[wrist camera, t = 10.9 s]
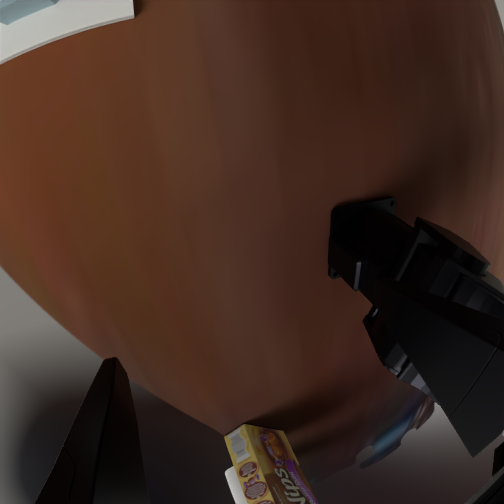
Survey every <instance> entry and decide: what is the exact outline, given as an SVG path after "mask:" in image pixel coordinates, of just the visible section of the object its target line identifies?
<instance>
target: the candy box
mask: <svg viewBox="0 0 504 504" xmlns="http://www.w3.org/2000/svg"><path fill="white" fill-rule="evenodd" d="M224 438H225V441H226V444H227V447H228V450H229V453H230V456H231V459H232V462H233V465H234V468H235V471H236V473H237V476H238V479H239V482H240V485H241V487H242V490H243V493H244V496H245V498H246V501H247V504H318V502H317V500H316V498H315V496H314V494H313V492H312V490H311V488H310V486H309V484H308V482H307V480H306V478H305V476H304V474H303V471H302V469H301V467H300V465H299V463H298V461H297V459H296V457H295V455H294V453H293V451H292V449H291V446H290V444H289V442H288V440H287V438H286V436H285V434H284V431H281V430H275V429H269V428H264V427H258V426H253V425H247V424H243V425H241V426H240V427H238V428H237V429H235V430H234V431H232V432H230V433H229V434H228V435H226V436H224Z"/></svg>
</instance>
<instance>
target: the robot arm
mask: <svg viewBox="0 0 504 504" xmlns="http://www.w3.org/2000/svg"><path fill="white" fill-rule="evenodd" d="M390 202H391V203H390ZM395 210H396V199H395V198H394V197H392V196H388V197H383V198H378V199H374V200H369V201H364V202H359V203H354V204H350V205H345V206H340V207H336V208H334V209H333V210H332V212H331V227H330V237H329V249H328V264H329V268H328V275H329V276H330V277H331V278H332V279H336V278H339V277H342V278H343V280H344V281H345V282H346V283H347V284H348V285H349V286H350V287H351V288H352V289H353V290H355V291H360V292H361V293H362V294H363V295H364V296H365V297H366V298H367V299H368V300H369V301H370V302H371V303H372V304H373V306H372V308H371V310H370V311H369V313H368V315H366V316H365V318H364V319H363V324H364V326H365V328H366V330H367V332H368V335H369V337H370V339H371V341H372V344H373V346H374V348H375V350H376V353H377V355H378V357H379V359H380V361H381V362H382V364H383V366H384V367H386V368H387V369H388V370H390V371H391V372H392V373H394V374H395V375H397V378H398V379H399V380H402V381H404V382H407V383H409V384H411V385H413V386H415V387H416V388H418V389H420V390H421V391H423V392H424V393H425V394H426V395H428V396H429V397H430V398H431V399H432V400H434V401H435V402H436V403H437V404H438V405H440V406H441V408H442V409H443V411H444V412H445V414H446V416H447V417H449V418H448V419H449V421H450V422H451V424H452V425H453V427H454V429H455V430H456V432H457V434H458V435H459V437H460V438H461V440H462V442H463V443H464V445H465V447H466V449H467V450H468V452H469V453H470V455H471V456H472V458H474V457H475V456H476V455H477V454H479V453H480V452H481V451H482V450H483V449H484V448H486V447H487V446H488V445H489V444H490V443H491V442H492V441H494V440H495V439H496V438H497V437H498V436H499V435H500V434H501V433H502V434H503V436H504V286H503V284H502V282H501V281H500V280H499V279H498V278H496V277H495V276H494V275H492V274H491V273H489V272H488V269H489V267H490V265H491V264H490V263H489V261H488V260H487V259H486V258H485V257H484V256H482V255H481V254H480V253H479V252H478V251H477V250H476V249H475V248H474V247H473V246H472V245H471V244H470V243H469V242H467V241H466V240H464V239H462V238H461V237H459V236H458V235H456V234H454V233H453V232H451V231H450V230H448V229H446V228H443V227H441V226H439V225H437V224H434V223H432V222H430V221H427V220H425V219H422V218H420V217H418V216H417V218H416V220H415V223H414V224H415V226H414V228H413V227H411V226H410V225H408V224H407V223H405V222H404V221H402V220H401V219H399V218H397V217H396V216H395ZM337 213H339V215H338V216H336V215H337ZM334 272H335V273H334ZM333 273H334V274H333ZM63 445H64V447H62V449H61V451H60V453H59V456H58V458H57V460H56V463H55V464H54V467H53V469H52V471H51V473H50V475H49V477H48V479H47V481H46V483H45V485H44V486H43V489H42V490H41V492H40V494H39V496H38V498H37V500H36V502H35V504H150V500H149V494H148V490H147V484H146V478H145V472H144V466H143V461H142V454H141V446H140V439H139V431H138V423H137V418H136V413H135V408H134V404H133V399H132V394H131V389H130V384H129V379H128V376H127V373H126V371H125V370H124V368H123V366H122V365H121V363H120V361H119V360H118V358H117V357H112V358H107V359H105V360H104V361H103V362H102V365H101V366H100V369H99V370H98V372H97V374H96V376H95V378H94V380H93V382H92V384H91V386H90V388H89V390H88V392H87V395H86V396H85V398H84V400H83V403H82V405H81V407H80V409H79V411H78V413H77V415H76V418H75V420H74V422H73V424H72V426H71V428H70V431H69V433H68V435H67V437H66V440H65V442H64V444H63ZM492 476H493V478H492V479H491V480H490V481H489V482H488V483H487V484H486V485H485V486H484V487H483V488H482V489H481V490H479V491H478V492H477V493H476V494H475V495H474V496H473V497H472V498H471V499H469V500H468V501H467V502H466V503H465V504H504V440H503V441H502V442H501V443H500V444H499V446H497V447H496V448H495V451H494V463H493V471H492Z"/></svg>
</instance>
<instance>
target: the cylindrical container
mask: <svg viewBox="0 0 504 504" xmlns="http://www.w3.org/2000/svg"><path fill="white" fill-rule="evenodd" d="M225 475H226V478H227V481H228V484H229V486H230V489H231V492H232V495H233V497H234V500H235V503H236V504H247V501H246V498H245V496H244V493H243V490H242V487H241V485H240V482H239V479H238V476H237V473H236V471H235V468H234V466H233V467H231V468H229V469H228V470H226V472H225Z"/></svg>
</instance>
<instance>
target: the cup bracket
mask: <svg viewBox="0 0 504 504" xmlns="http://www.w3.org/2000/svg"><path fill="white" fill-rule="evenodd" d="M132 18H134V7H133V0H0V64H2V63H4V62H6V61H8V60H10V59H13V58H15V57H17V56H19V55H21V54H23V53H26V52H28V51H30V50H33V49H35V48H38V47H40V46H43V45H45V44H48V43H50V42H53V41H56V40H58V39H61V38H64V37H67V36H70V35H73V34H76V33H79V32H82V31H86V30H89V29H92V28H96V27H99V26H103V25H107V24H111V23H115V22H119V21H123V20H128V19H132Z"/></svg>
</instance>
